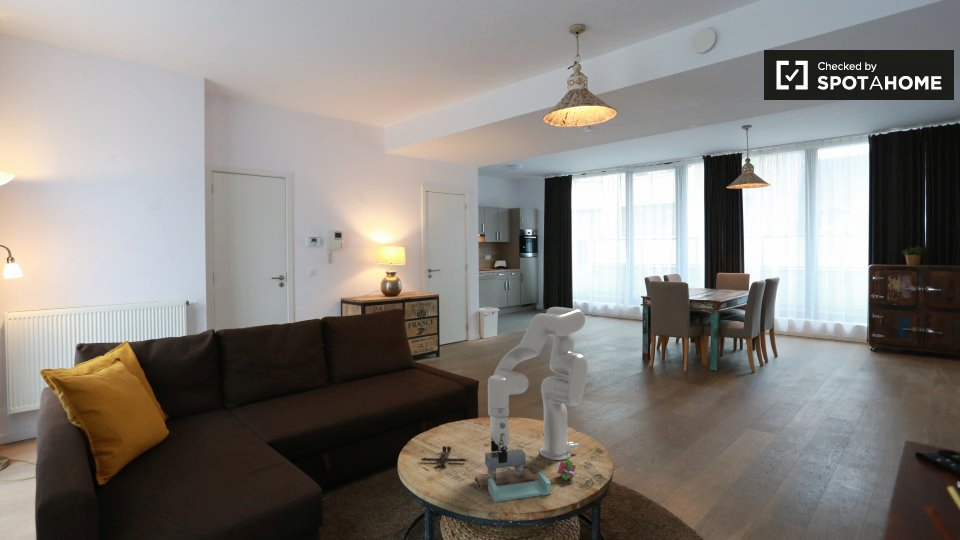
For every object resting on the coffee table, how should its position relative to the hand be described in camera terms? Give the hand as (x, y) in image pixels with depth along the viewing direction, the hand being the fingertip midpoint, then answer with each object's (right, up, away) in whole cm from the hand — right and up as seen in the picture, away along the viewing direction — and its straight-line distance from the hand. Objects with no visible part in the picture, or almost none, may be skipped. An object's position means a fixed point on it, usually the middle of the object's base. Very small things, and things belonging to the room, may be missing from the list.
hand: (499, 456), depth 171 cm
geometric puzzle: (+25, -9, +2) cm, 26 cm away
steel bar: (+2, -3, +1) cm, 4 cm away
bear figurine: (-21, -9, +18) cm, 29 cm away
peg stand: (+2, -9, +1) cm, 9 cm away
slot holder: (+7, -9, -8) cm, 14 cm away
